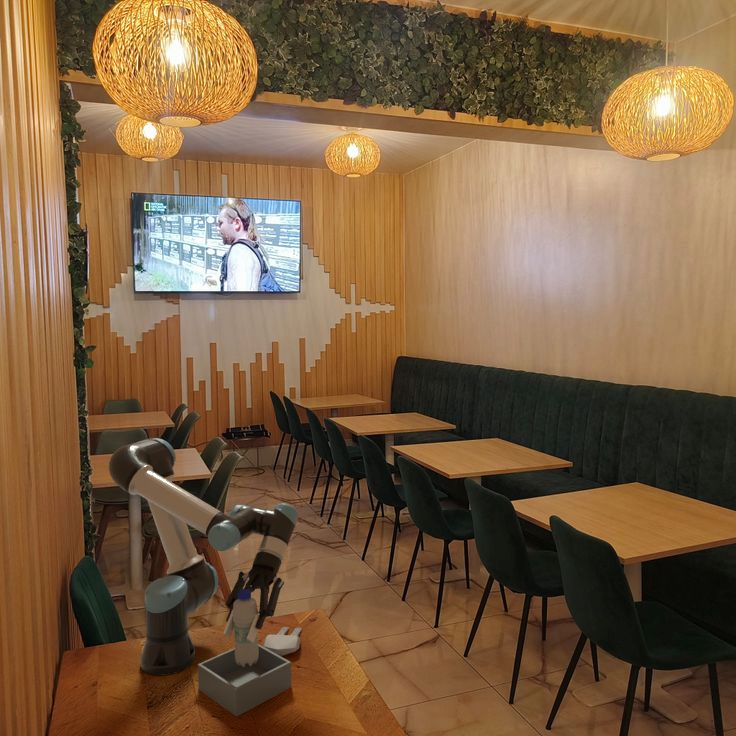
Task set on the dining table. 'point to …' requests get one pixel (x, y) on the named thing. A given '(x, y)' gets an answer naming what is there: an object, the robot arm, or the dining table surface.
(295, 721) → the dining table surface
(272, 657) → the tray
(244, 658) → the bottle
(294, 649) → the turret
